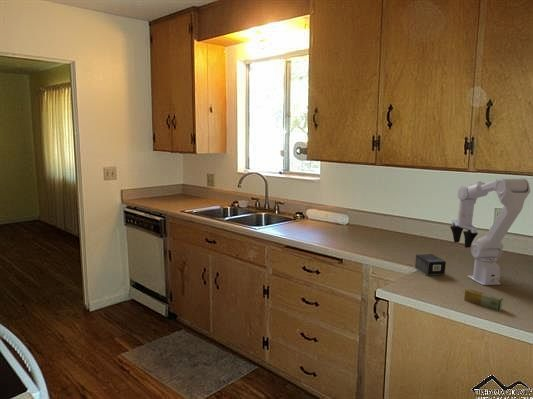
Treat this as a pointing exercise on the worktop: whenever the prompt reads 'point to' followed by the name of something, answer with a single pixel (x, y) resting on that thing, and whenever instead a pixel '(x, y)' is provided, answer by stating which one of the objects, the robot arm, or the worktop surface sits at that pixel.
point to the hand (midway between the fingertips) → (461, 244)
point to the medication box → (483, 299)
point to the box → (430, 264)
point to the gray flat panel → (425, 273)
